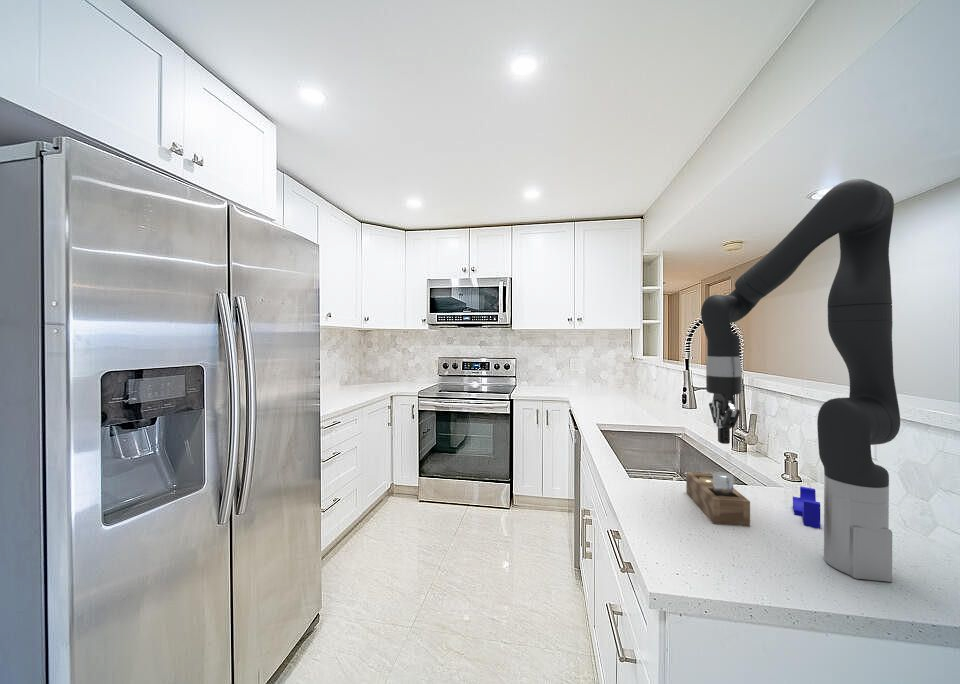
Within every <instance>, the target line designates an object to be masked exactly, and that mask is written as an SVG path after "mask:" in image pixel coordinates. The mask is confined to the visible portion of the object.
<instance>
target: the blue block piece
mask: <svg viewBox="0 0 960 684" xmlns="http://www.w3.org/2000/svg"><path fill="white" fill-rule="evenodd" d="M816 495H817V494H816V489H815V488H812V487H807V486H801V485H800V486H799V497H798V496H792V510H793V515H794V516H798V517H801V519H802V522H803V526H804V527H809V526H810V527H809V528H814V529H819V530H820V529H821V502H820V501H816V500H817V499H816V497H817V496H816Z"/></svg>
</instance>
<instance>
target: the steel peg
mask: <svg viewBox="0 0 960 684" xmlns="http://www.w3.org/2000/svg"><path fill="white" fill-rule="evenodd" d="M712 474H713V493H714V494H715V495H716V496H727V497H733V488H734V475H733V474H731V473H728V472H723V471H714V472H712Z"/></svg>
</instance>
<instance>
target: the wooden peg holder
mask: <svg viewBox="0 0 960 684" xmlns="http://www.w3.org/2000/svg"><path fill="white" fill-rule="evenodd" d="M685 477H686V479H685V481H686V484H685V485H686V489H685V491H686V492H685V493H686V494H687V495H688V497H690V499H691V500H692V501H693V502H694V503H695V504H696V506H698V508H699V509H700V510H701V511H702V512H703V514H704V515H705V516H706V517H707V518H708V519H709V521H710V522H711V523H712V524H713V525H724V526H736V527H749V528H750V527H751V501H750V500H749V499H747V497H745V496H743V494H741V492H739V491H738V490H737V489H735V488H734V487H733V497H727V496H716V495H715V494H714V493H713V482H701V481H700V480H699V477H710V478H713V473H712V472H711V473H706V472H691V471H690V472H689V471H686V476H685Z"/></svg>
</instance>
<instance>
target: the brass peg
mask: <svg viewBox="0 0 960 684" xmlns="http://www.w3.org/2000/svg"><path fill="white" fill-rule="evenodd" d="M699 480H700V481H701V482H713V478H710V477H699Z"/></svg>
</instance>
